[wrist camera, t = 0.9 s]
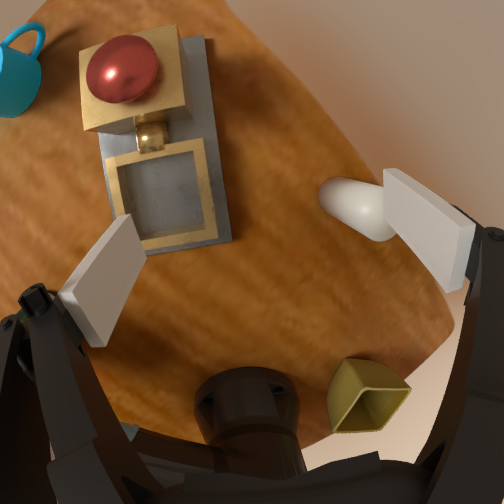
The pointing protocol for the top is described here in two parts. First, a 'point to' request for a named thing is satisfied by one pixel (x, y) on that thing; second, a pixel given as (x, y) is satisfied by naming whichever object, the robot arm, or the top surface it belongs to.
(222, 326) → the top surface
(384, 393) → the flower pot
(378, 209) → the white rounded cylinder
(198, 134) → the red push button box
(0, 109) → the mug
